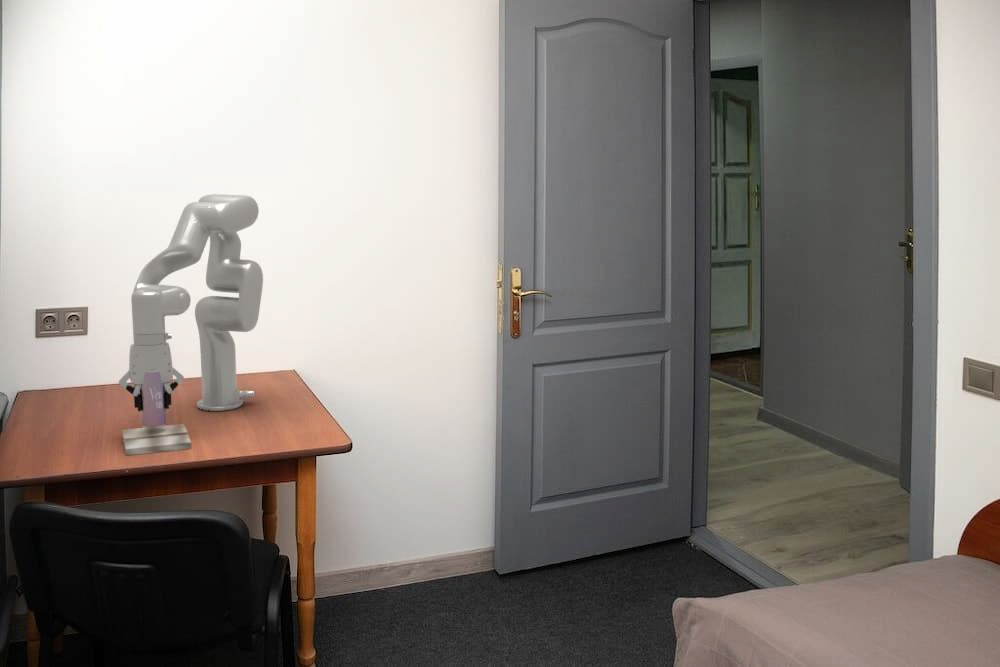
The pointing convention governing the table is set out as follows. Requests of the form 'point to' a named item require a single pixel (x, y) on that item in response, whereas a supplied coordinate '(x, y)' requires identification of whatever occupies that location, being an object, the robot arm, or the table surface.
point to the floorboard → (157, 444)
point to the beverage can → (153, 401)
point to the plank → (153, 432)
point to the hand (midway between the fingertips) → (153, 408)
